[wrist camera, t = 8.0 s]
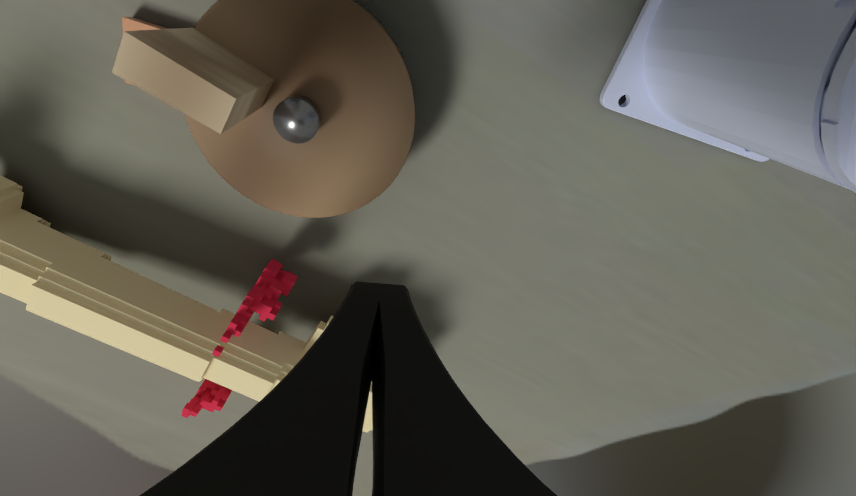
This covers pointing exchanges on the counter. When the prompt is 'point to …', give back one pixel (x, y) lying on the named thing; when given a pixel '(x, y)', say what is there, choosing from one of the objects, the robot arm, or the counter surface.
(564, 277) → the counter surface
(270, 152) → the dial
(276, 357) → the toy vehicle
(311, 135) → the pivot pin
